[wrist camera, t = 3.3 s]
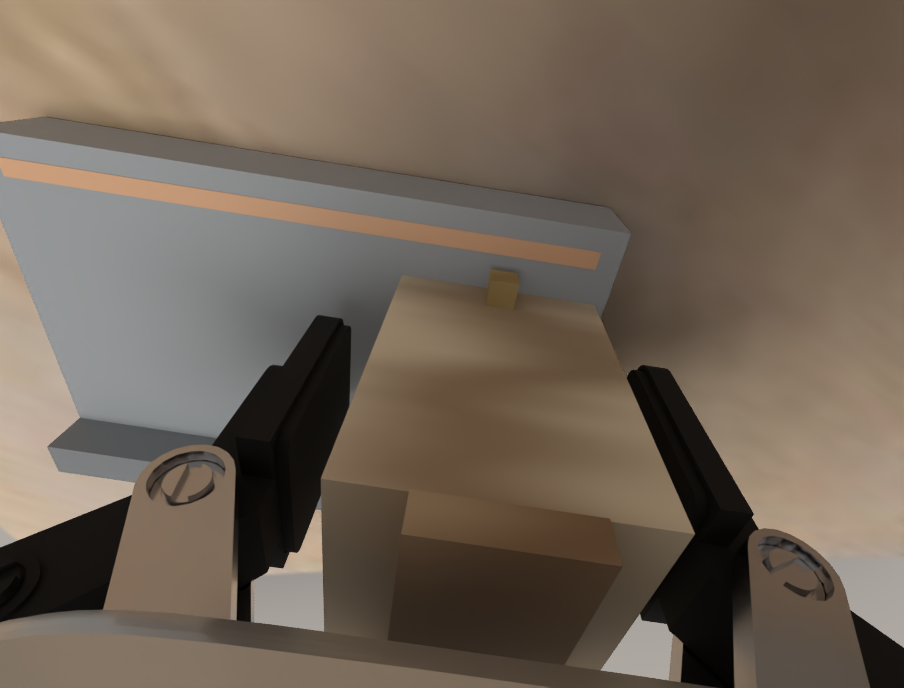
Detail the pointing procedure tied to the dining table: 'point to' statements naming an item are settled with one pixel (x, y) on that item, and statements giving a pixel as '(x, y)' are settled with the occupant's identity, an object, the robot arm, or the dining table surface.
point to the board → (243, 269)
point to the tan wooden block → (495, 482)
